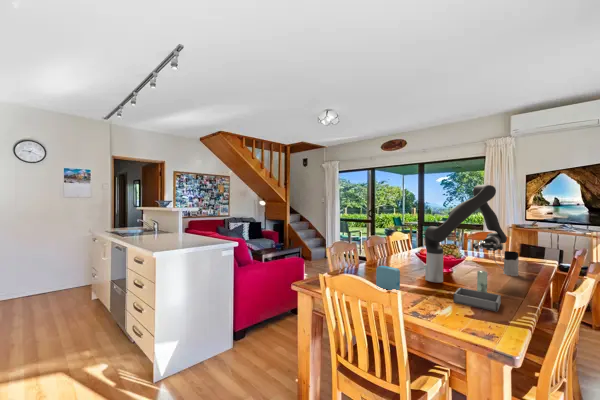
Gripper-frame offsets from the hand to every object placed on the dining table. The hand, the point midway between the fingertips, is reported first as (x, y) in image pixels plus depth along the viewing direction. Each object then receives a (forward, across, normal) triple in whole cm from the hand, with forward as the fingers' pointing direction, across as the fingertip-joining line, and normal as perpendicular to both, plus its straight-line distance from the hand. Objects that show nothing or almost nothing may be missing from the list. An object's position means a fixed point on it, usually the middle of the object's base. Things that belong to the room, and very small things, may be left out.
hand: (484, 248), depth 157 cm
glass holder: (-48, +2, +27) cm, 55 cm away
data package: (+41, -39, +18) cm, 59 cm away
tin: (+13, 0, +22) cm, 26 cm away
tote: (+29, +2, +20) cm, 36 cm away
